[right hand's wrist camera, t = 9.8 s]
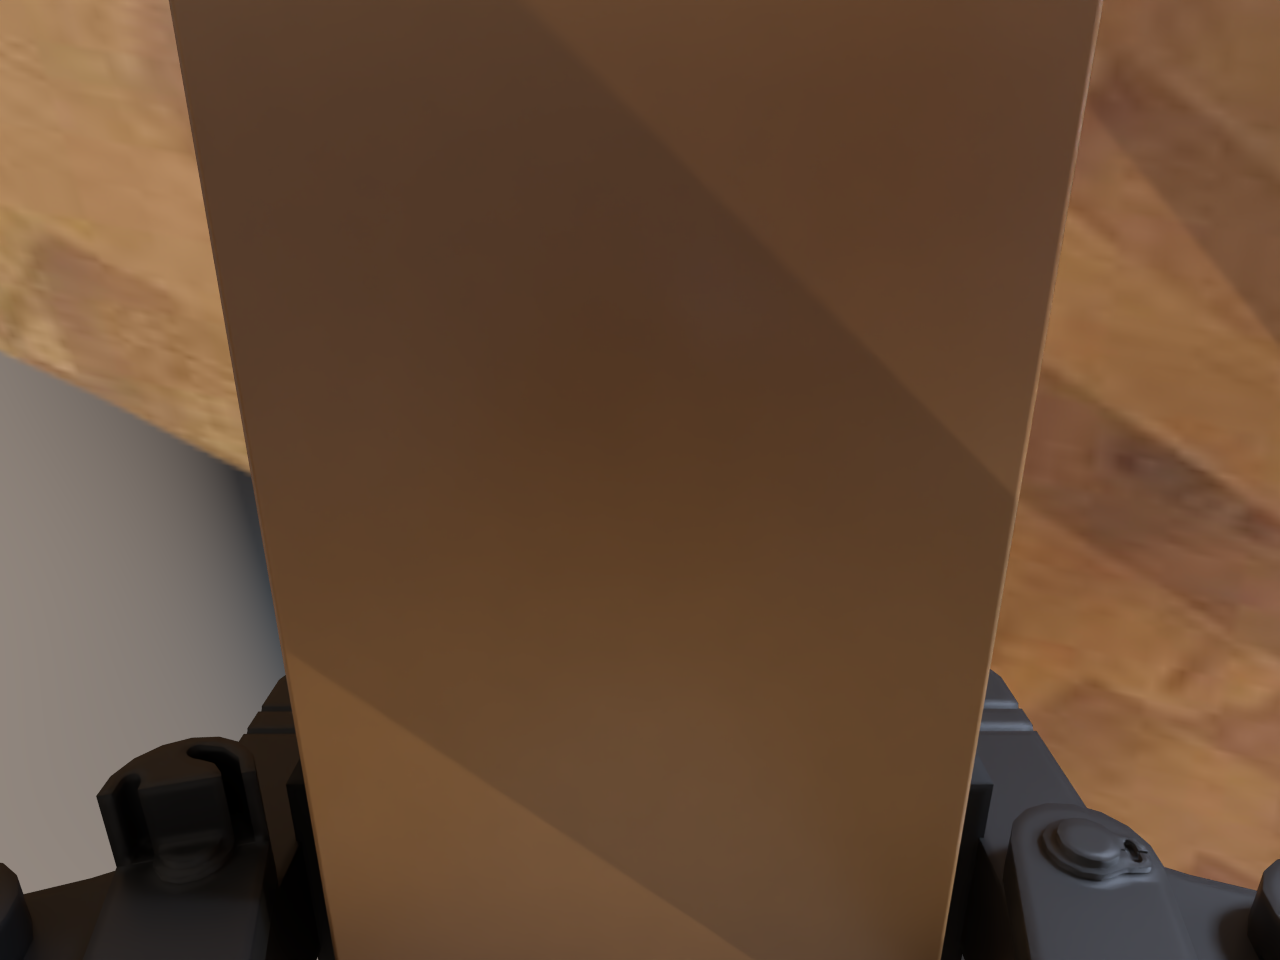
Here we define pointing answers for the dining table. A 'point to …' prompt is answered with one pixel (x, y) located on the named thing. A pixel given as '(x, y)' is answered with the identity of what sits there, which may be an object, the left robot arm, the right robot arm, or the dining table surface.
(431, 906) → the post
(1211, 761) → the dining table surface
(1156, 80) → the dining table surface
